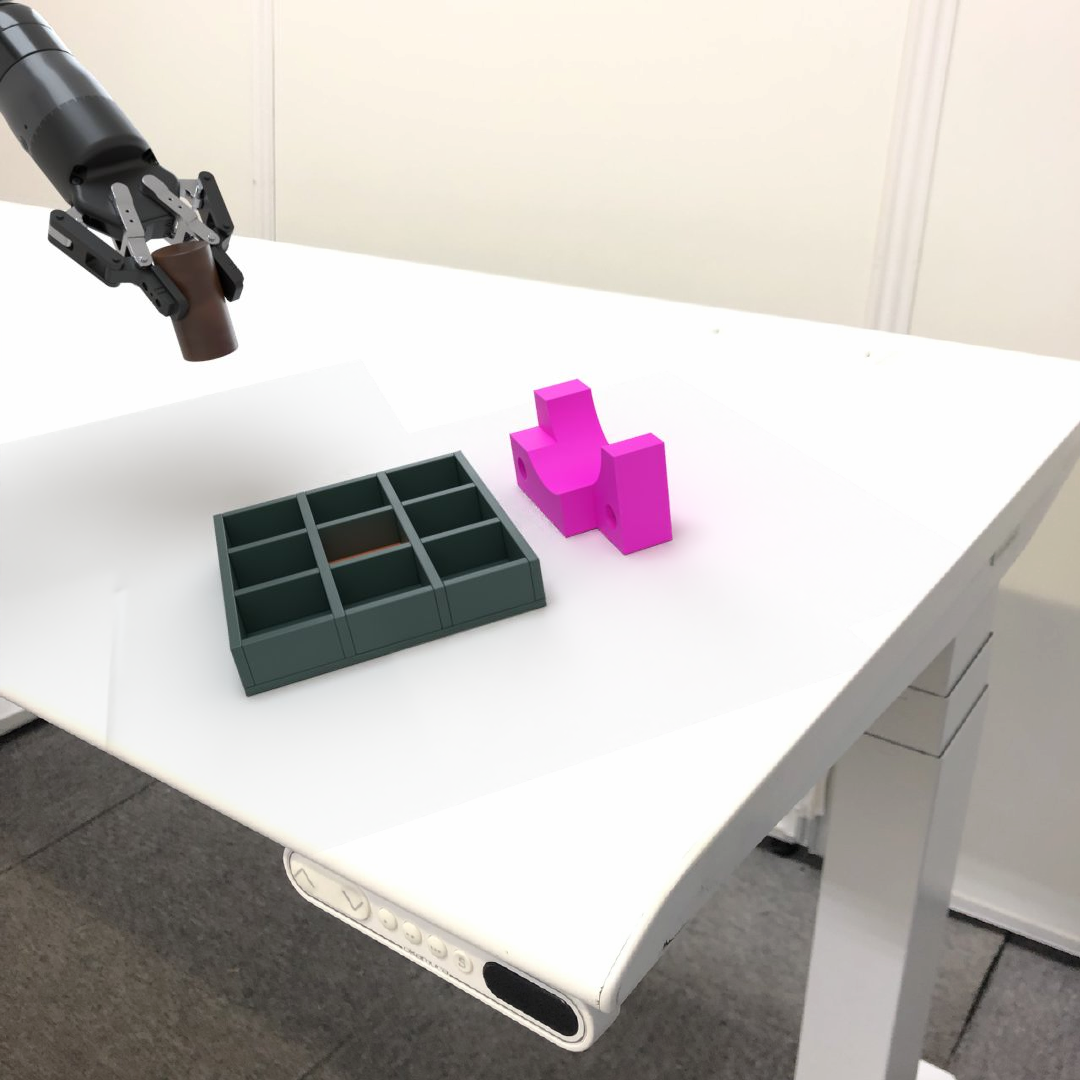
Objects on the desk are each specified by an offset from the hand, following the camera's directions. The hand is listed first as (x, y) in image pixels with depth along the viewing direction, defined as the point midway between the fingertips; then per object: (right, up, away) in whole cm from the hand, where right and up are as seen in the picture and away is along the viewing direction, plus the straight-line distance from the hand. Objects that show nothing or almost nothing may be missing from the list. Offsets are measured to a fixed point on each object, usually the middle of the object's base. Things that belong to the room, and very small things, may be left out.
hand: (210, 302), depth 76 cm
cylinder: (-1, -3, +3) cm, 5 cm away
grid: (+12, -20, -3) cm, 24 cm away
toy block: (+28, -15, +2) cm, 32 cm away
